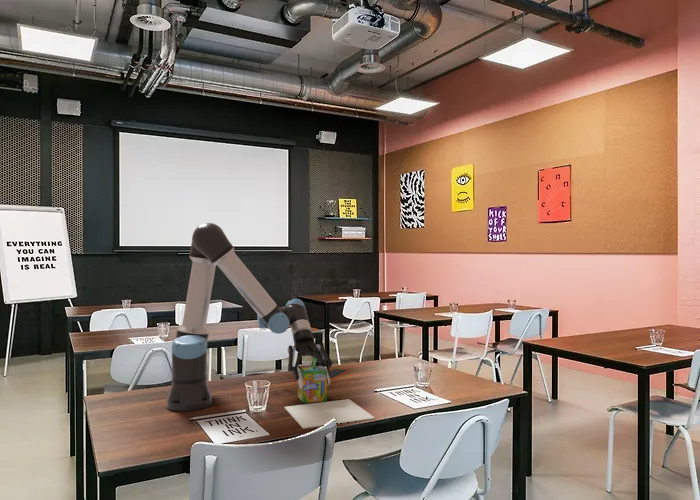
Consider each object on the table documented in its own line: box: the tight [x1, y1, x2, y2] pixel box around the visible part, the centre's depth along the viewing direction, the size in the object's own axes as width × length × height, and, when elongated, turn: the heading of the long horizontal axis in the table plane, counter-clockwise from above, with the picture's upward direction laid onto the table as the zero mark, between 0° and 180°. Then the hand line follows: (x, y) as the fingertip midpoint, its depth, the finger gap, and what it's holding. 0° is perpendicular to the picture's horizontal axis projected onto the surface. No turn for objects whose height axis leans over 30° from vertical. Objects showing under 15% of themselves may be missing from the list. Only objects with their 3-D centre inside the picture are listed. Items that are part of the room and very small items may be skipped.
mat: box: [284, 398, 376, 430], centre depth 168 cm, size 24×22×1 cm
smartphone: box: [329, 368, 350, 381], centre depth 221 cm, size 8×17×1 cm, turn 153°
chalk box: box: [297, 357, 328, 405], centre depth 184 cm, size 9×9×15 cm
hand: (315, 385), depth 181 cm, fingers closed on chalk box, 9 cm apart
